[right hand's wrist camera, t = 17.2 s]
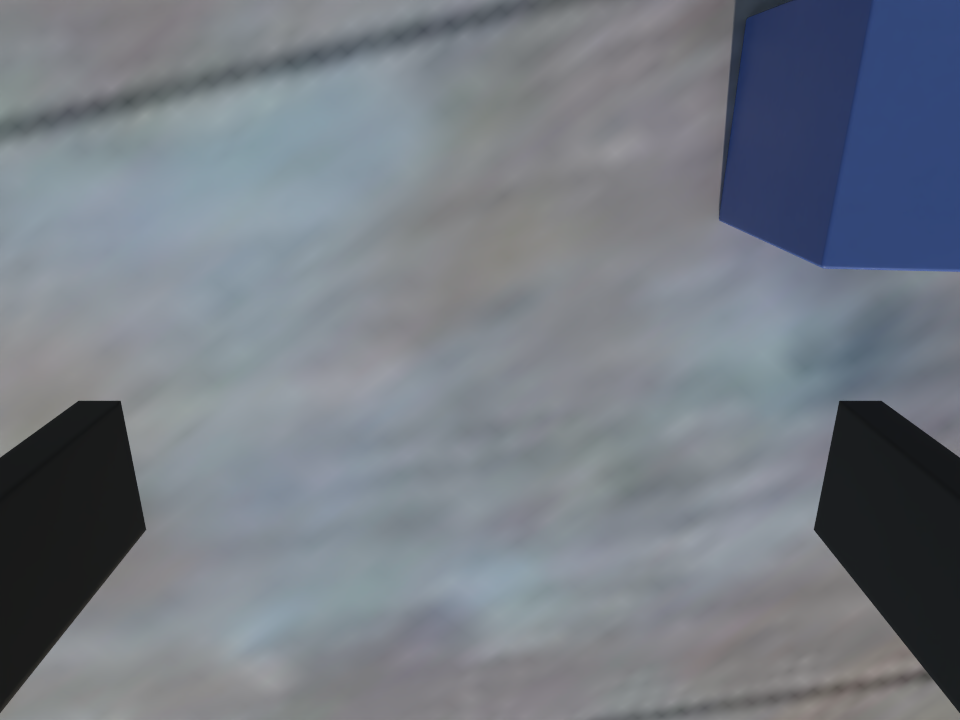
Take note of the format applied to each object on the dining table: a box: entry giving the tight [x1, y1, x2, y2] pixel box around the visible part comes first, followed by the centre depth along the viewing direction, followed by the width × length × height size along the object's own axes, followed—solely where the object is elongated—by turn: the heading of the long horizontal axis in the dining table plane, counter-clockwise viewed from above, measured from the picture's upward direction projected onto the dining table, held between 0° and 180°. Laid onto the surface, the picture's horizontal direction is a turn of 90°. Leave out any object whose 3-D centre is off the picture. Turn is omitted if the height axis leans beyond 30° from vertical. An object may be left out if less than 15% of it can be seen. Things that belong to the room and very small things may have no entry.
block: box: [719, 0, 960, 272], centre depth 20 cm, size 5×7×9 cm
